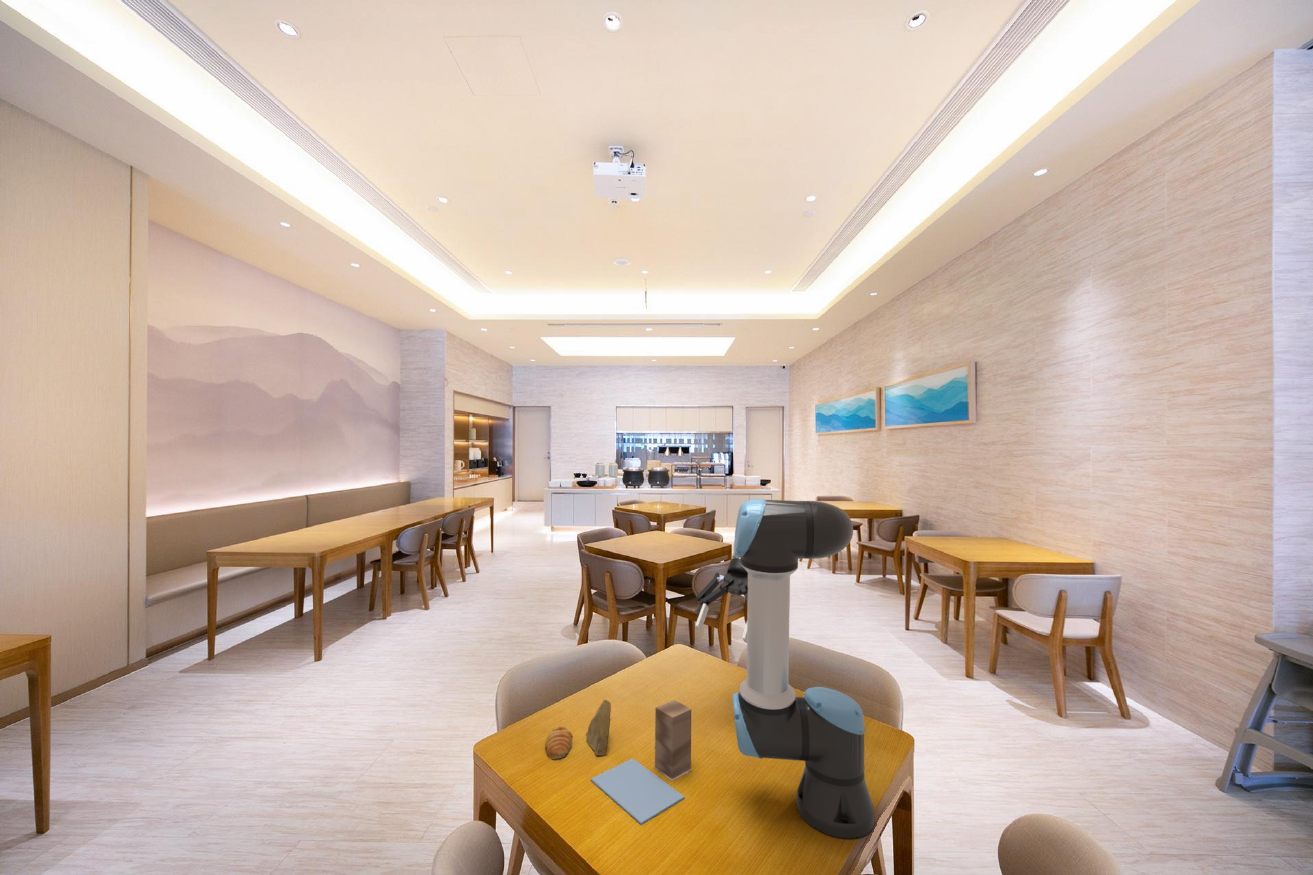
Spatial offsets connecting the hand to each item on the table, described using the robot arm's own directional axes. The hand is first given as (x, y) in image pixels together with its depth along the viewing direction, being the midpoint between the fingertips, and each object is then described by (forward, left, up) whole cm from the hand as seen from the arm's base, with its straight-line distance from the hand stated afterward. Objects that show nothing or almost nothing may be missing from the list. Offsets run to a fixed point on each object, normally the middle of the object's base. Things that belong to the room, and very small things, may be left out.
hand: (720, 634), depth 131 cm
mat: (-2, +30, -27) cm, 40 cm away
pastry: (+23, +35, -27) cm, 50 cm away
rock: (+18, +27, -27) cm, 42 cm away
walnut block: (-2, +19, -27) cm, 33 cm away
